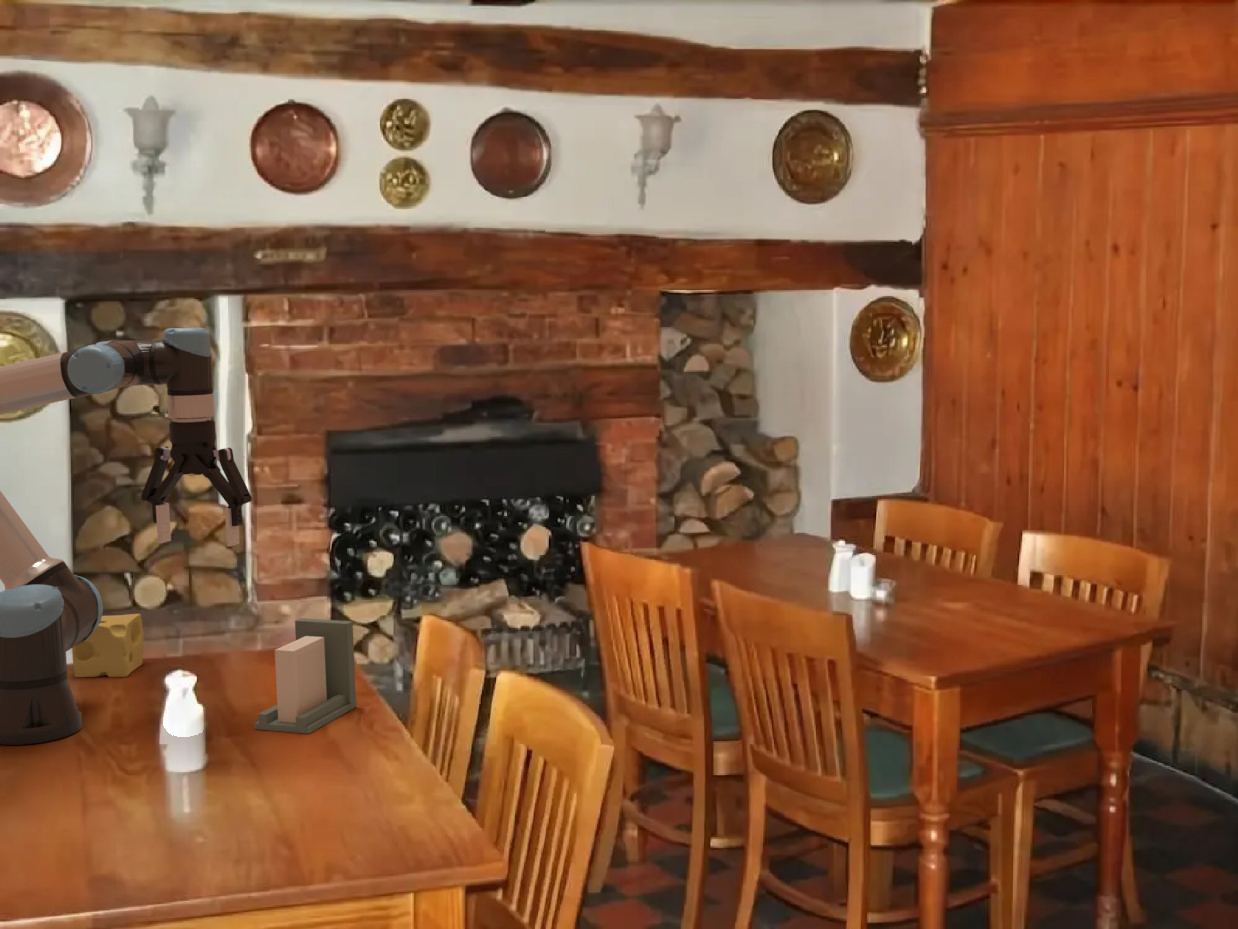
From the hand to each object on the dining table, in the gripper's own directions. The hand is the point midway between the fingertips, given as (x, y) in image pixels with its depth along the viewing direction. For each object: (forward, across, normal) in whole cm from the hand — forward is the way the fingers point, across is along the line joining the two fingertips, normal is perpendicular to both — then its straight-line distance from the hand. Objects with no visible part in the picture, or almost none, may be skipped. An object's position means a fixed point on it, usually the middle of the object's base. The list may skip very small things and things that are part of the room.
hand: (198, 543), depth 263 cm
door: (+28, -20, +2) cm, 34 cm away
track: (+29, -20, +1) cm, 35 cm away
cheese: (+29, +33, -17) cm, 47 cm away
